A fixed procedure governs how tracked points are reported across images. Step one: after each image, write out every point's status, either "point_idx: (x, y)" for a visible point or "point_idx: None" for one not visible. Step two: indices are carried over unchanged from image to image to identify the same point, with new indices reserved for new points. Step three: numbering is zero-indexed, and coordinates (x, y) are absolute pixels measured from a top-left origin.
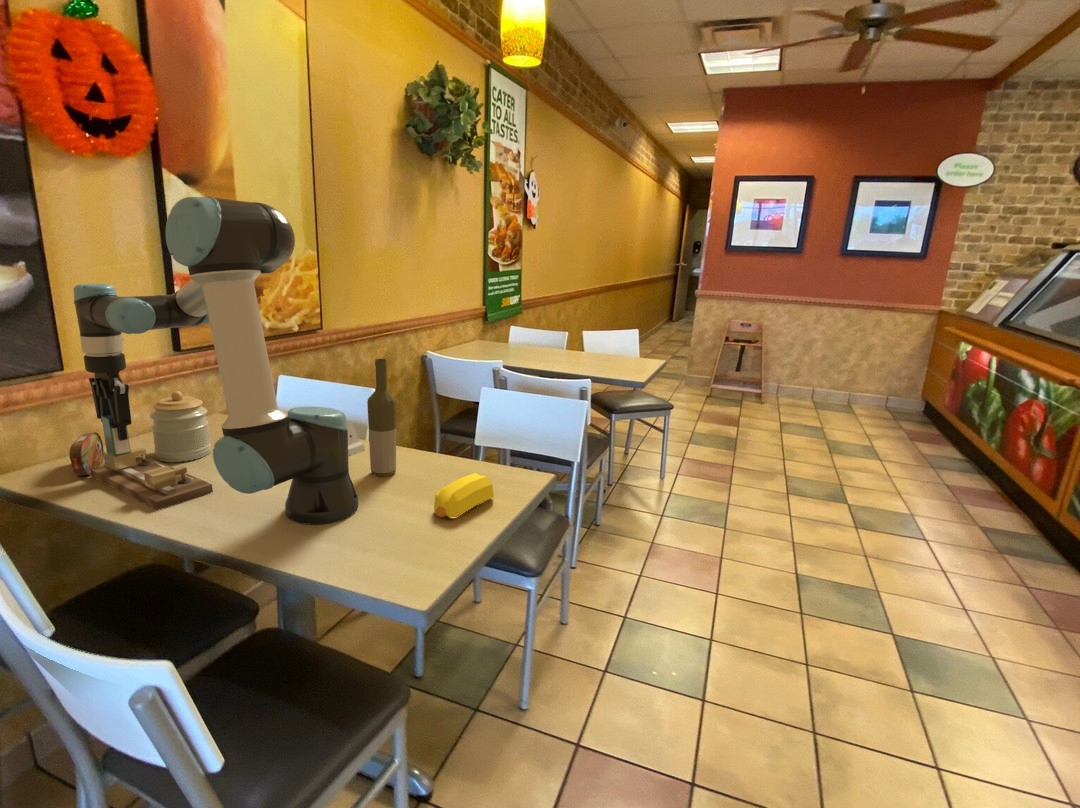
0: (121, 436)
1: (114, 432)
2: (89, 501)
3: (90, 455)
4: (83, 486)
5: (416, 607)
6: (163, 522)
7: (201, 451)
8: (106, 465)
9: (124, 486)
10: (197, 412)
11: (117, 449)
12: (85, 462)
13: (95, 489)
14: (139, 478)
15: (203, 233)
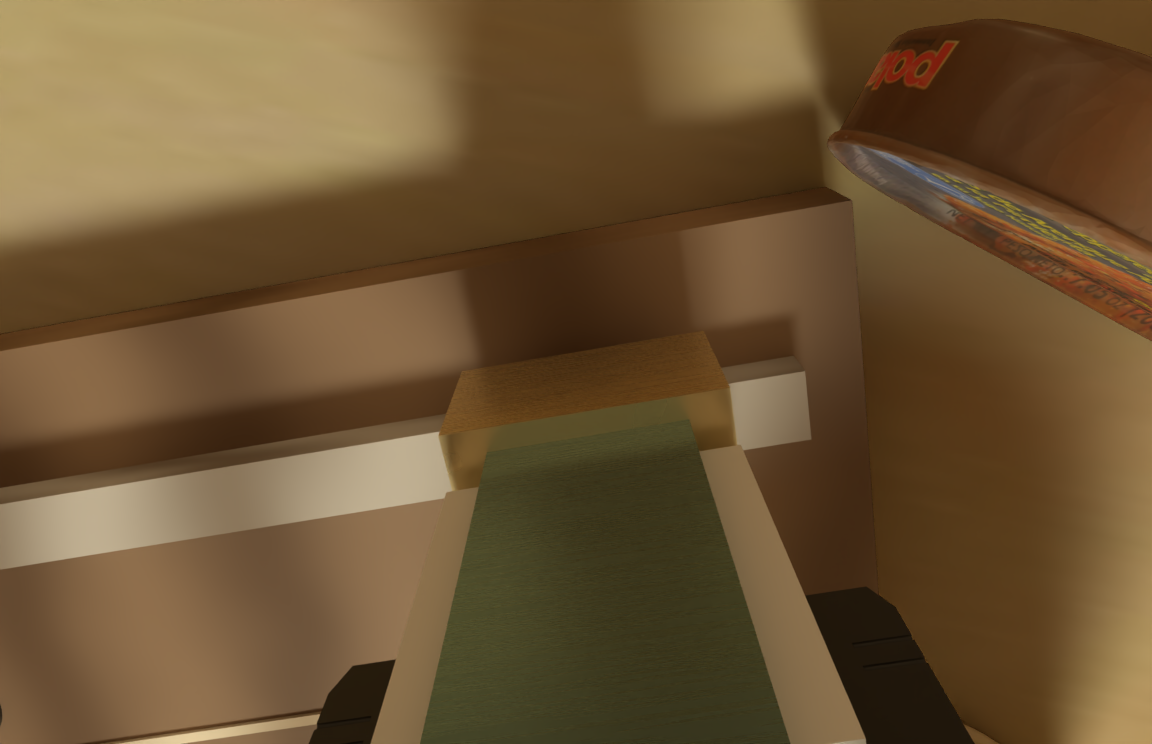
0: (324, 738)
1: (376, 730)
2: (139, 19)
3: (1136, 283)
4: (609, 67)
5: None
6: None
7: None
8: (673, 337)
9: (104, 331)
10: None
11: (440, 536)
12: (954, 187)
13: (447, 137)
14: (140, 478)
15: None
